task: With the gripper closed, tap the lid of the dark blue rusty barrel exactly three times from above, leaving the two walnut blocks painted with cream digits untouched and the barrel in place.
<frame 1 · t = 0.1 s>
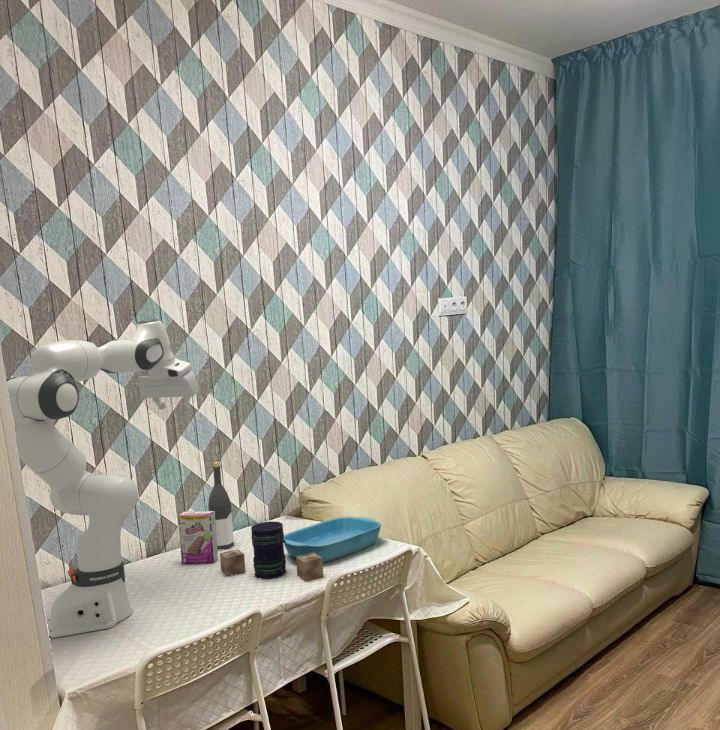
hand: (174, 408, 222), 52 cm above the table, tool tilted 20°, fingers open, 8 cm apart
dark blue rusty barrel: (270, 574, 216), on the table
walnut block one: (310, 576, 211), on the table
candy bar box: (200, 562, 232), on the table
walnut block seven: (233, 572, 220), on the table
casserole dish: (333, 550, 236), on the table
wine bottle: (222, 547, 247), on the table
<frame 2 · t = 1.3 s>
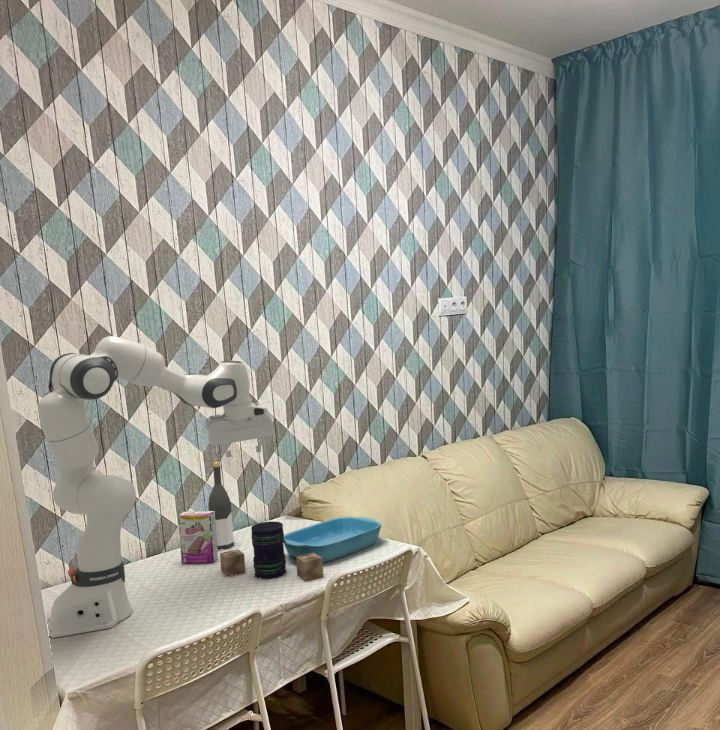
hand: (244, 454, 220), 37 cm above the table, tool pointing down, fingers open, 8 cm apart
nothing on the table moved.
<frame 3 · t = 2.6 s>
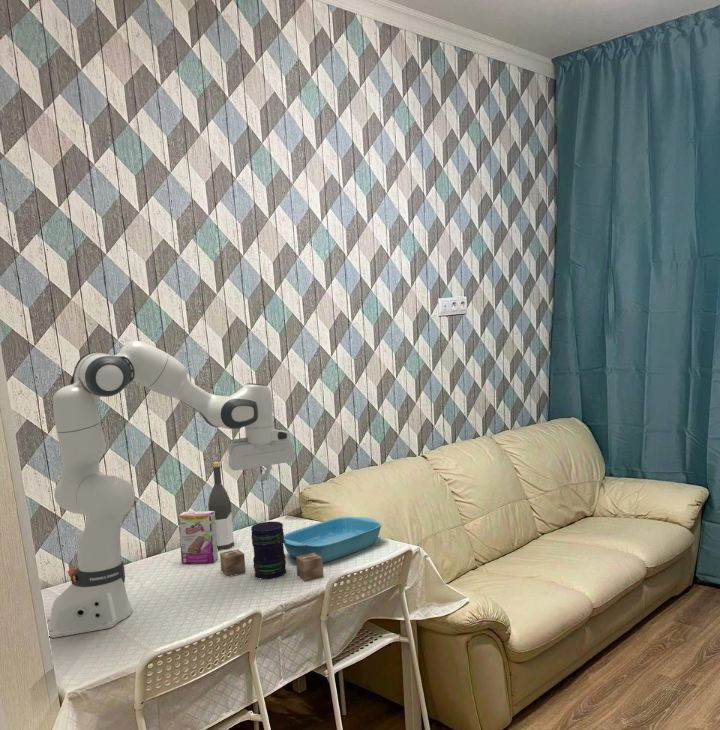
hand: (263, 480, 214), 29 cm above the table, tool pointing down, fingers closed
nothing on the table moved.
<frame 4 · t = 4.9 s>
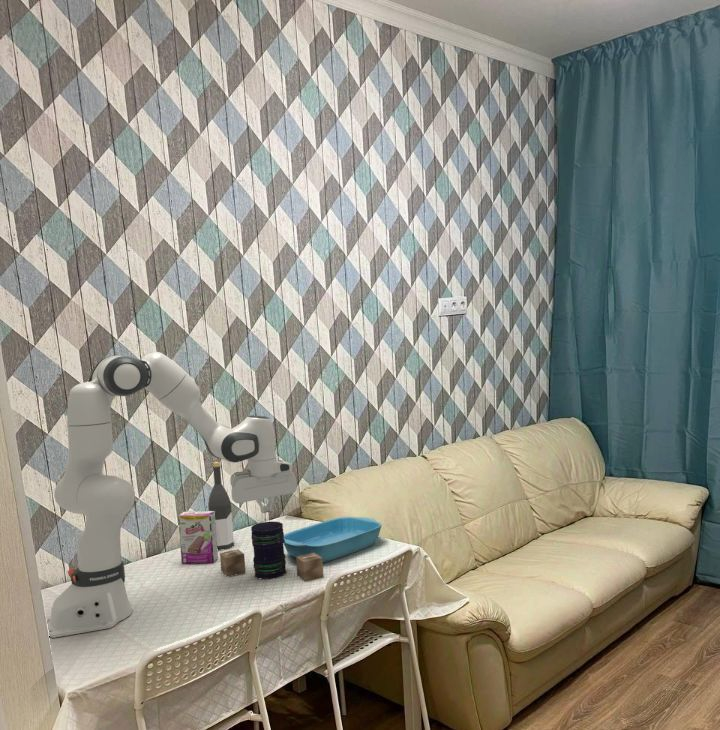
hand: (266, 512, 215), 19 cm above the table, tool pointing down, fingers closed
nothing on the table moved.
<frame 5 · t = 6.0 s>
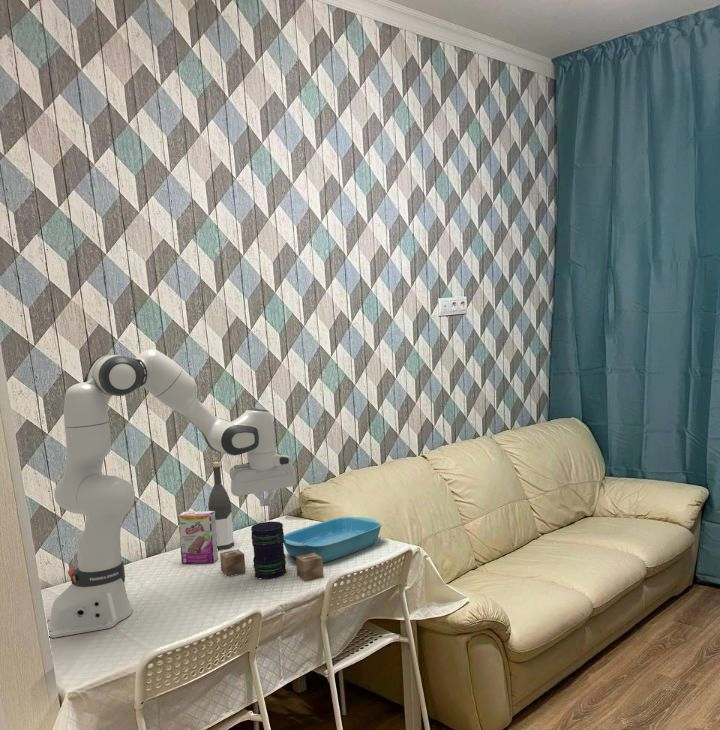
hand: (265, 505, 215), 21 cm above the table, tool pointing down, fingers closed
nothing on the table moved.
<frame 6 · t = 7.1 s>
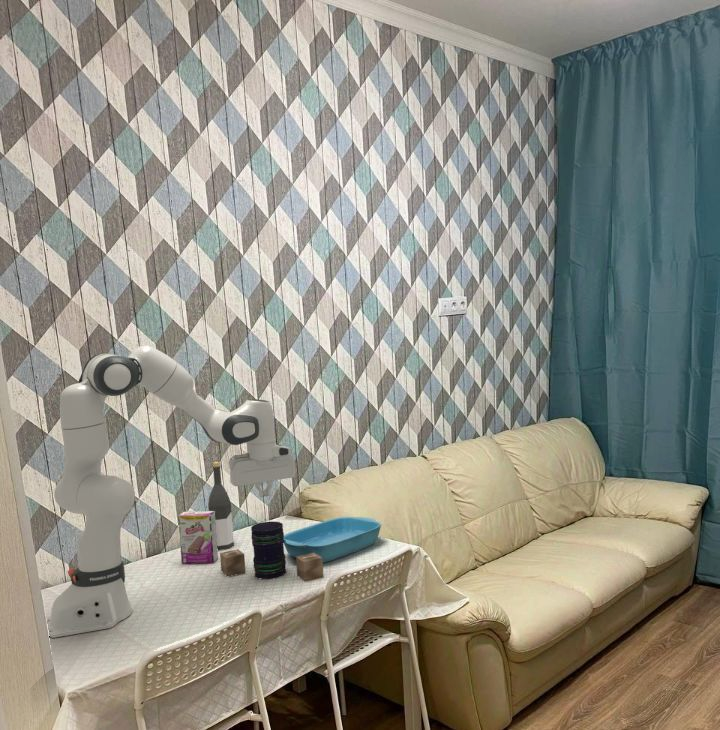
hand: (264, 496, 215), 24 cm above the table, tool pointing down, fingers closed
nothing on the table moved.
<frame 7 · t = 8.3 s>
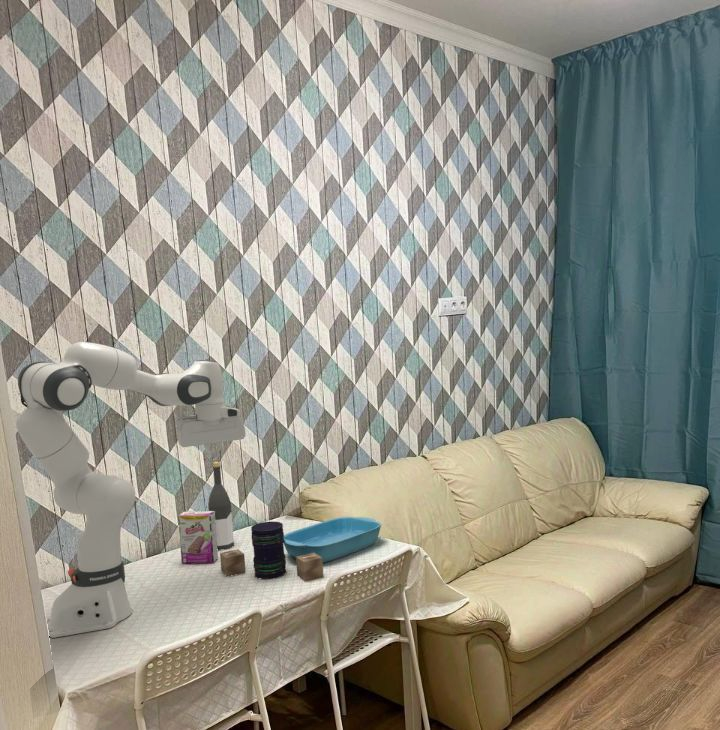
hand: (213, 457, 214), 37 cm above the table, tool pointing down, fingers closed
nothing on the table moved.
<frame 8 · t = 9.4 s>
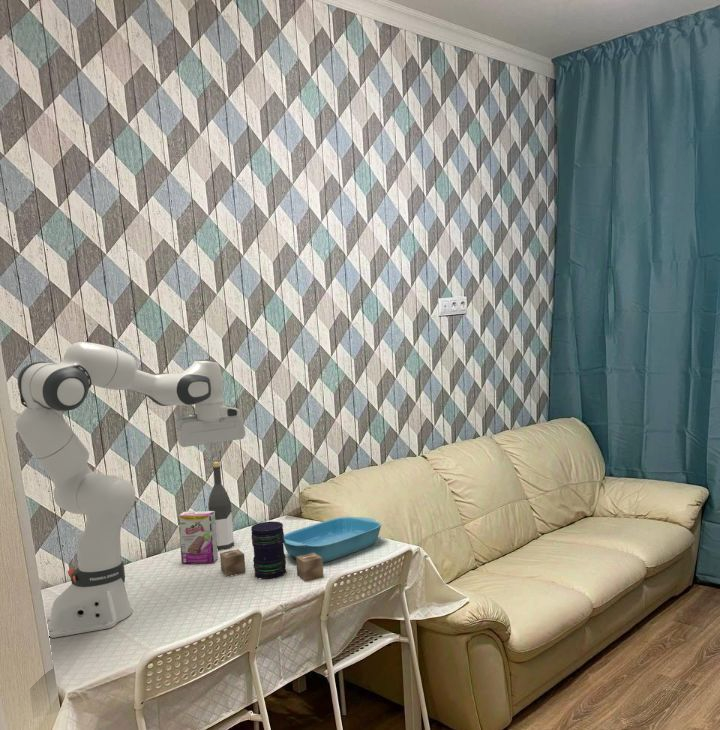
hand: (213, 457, 214), 37 cm above the table, tool pointing down, fingers closed
nothing on the table moved.
at the end: dark blue rusty barrel moved 0.2 cm from its start; dark blue rusty barrel tilted 0°; walnut block one moved 0.1 cm from its start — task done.
